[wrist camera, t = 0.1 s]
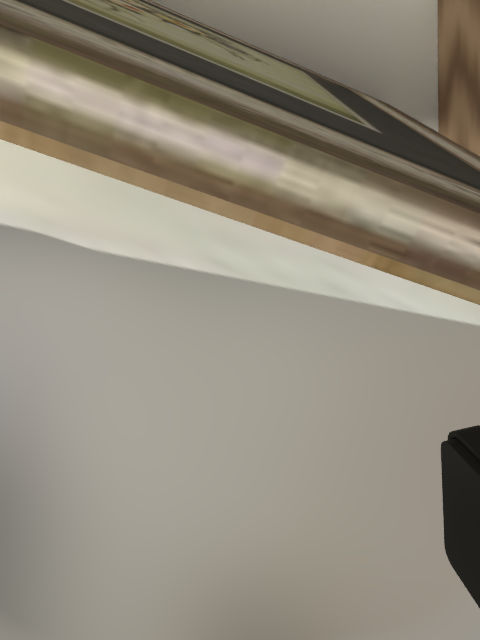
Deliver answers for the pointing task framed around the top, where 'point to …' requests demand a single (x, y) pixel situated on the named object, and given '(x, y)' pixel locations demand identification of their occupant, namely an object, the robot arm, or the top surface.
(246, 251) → the top surface
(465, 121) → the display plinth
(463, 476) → the robot arm
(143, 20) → the picture frame
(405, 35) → the top surface
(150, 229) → the top surface
